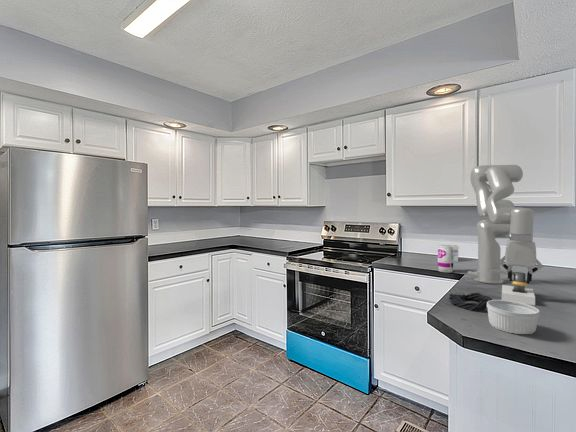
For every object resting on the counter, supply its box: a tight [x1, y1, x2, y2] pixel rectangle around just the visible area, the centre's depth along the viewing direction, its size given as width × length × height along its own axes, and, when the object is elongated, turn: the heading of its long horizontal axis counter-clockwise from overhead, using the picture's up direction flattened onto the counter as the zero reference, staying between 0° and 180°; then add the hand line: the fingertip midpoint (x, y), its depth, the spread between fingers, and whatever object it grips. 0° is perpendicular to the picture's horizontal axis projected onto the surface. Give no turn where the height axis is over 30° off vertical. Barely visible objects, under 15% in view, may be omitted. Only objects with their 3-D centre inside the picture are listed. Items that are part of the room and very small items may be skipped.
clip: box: [488, 268, 524, 276], centre depth 134 cm, size 3×12×2 cm, turn 46°
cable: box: [448, 292, 493, 312], centre depth 117 cm, size 17×14×4 cm
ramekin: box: [487, 299, 541, 335], centre depth 94 cm, size 13×13×7 cm
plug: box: [511, 271, 528, 293], centre depth 126 cm, size 5×5×8 cm
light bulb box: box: [446, 244, 459, 262], centre depth 218 cm, size 11×7×11 cm, turn 67°
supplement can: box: [437, 244, 454, 274], centre depth 180 cm, size 8×8×15 cm
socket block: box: [501, 284, 536, 306], centre depth 126 cm, size 10×16×8 cm, turn 144°
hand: (519, 281), depth 126 cm, fingers closed on plug, 5 cm apart
